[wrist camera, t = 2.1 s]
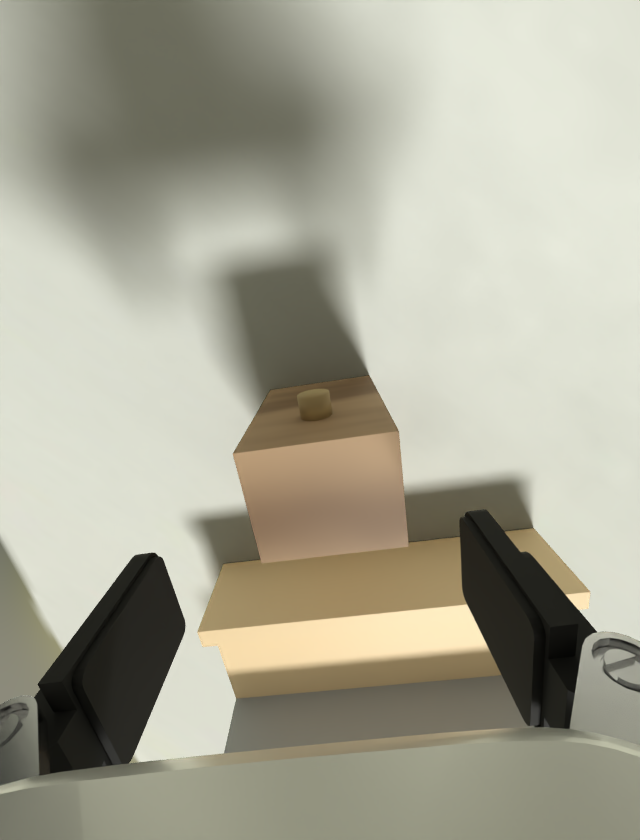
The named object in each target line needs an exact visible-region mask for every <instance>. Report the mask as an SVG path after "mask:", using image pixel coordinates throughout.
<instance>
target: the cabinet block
mask: <svg viewBox="0 0 640 840" xmlns="http://www.w3.org/2000/svg"><path fill="white" fill-rule="evenodd" d="M233 456H234V460H235V464H236V468H237V472H238V475H239V479H240V483H241V487H242V491H243V494H244V498H245V502H246V506H247V510H248V513H249V517H250V521H251V525H252V529H253V533H254V536H255V540H256V544H257V548H258V552H259V555H260V559H261V563H270V562H279V561H287V560H296V559H305V558H314V557H322V556H331V555H340V554H349V553H358V552H366V551H375V550H384V549H393V548H401V547H409V544H408V532H407V521H406V509H405V497H404V486H403V474H402V463H401V451H400V439H399V431H398V429H397V427H396V425H395V423H394V421H393V419H392V417H391V415H390V414H389V412H388V410H387V408H386V406H385V404H384V402H383V400H382V398H381V397H380V395H379V393H378V391H377V389H376V387H375V385H374V383H373V381H372V380H371V378H370V376H369V375H368V376H361V377H355V378H348V379H341V380H334V381H328V382H321V383H314V384H308V385H301V386H294V387H287V388H281V389H274V390H270V391H269V393H268V395H267V396H266V398H265V400H264V401H263V403H262V405H261V407H260V408H259V410H258V412H257V413H256V415H255V417H254V418H253V420H252V422H251V424H250V425H249V427H248V429H247V430H246V432H245V434H244V436H243V437H242V439H241V441H240V442H239V444H238V446H237V447H236V449H235V451H234V453H233Z"/></svg>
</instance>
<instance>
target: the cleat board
mask: <svg viewBox="0 0 640 840" xmlns="http://www.w3.org/2000/svg"><path fill="white" fill-rule="evenodd" d="M505 533H506V535H507V536H508V537H509V538H510V540H511V541H512V542H513V543H514V544H515V546H516V547H517V548H518V549H519V551H520V552H525V551H526V552H528V553H530V554H531V555H532V556H533V557H534V558H535V559H536V560H537V561H538V563H539V564H540V565H541V566H542V567H543V569H544V570H545V571H546V572H547V573H548V575H549V576H550V577H551V578H552V579H553V580H554V582H555V583H556V584H557V585H558V586H559V588H560V589H561V590H562V591H563V592H564V594H565V595H566V596H567V597H568V598H569V599H570V601H571V602H572V603H573V604H574V605H575V607H576V608H577V609H578V610H581V609H588V607H589V599H590V591H589V590H588V589H587V588H586V586H585V585H584V584H583V583H582V582H581V581H580V580H579V579H578V577H577V576H576V575H575V574H574V573H573V572H572V571H571V570H570V568H569V567H568V566H567V565H566V564H565V563H564V562H563V561H562V559H561V558H560V557H559V556H558V555H557V554H556V553H555V552H554V550H553V549H552V548H551V547H550V546H549V545H548V544H547V543H546V541H545V540H544V539H543V538H542V537H541V536H540V535H539V534H538V532H537V531H536V530H535V529H534V528H531V529H522V530H513V531H505ZM408 544H409V547H401V548H393V549H384V550H375V551H366V552H358V553H349V554H340V555H331V556H322V557H314V558H305V559H296V560H287V561H279V562H270V563H261V560H253V561H244V562H236V563H227V564H223V566H222V569H221V572H220V574H219V577H218V579H217V582H216V585H215V587H214V590H213V593H212V595H211V598H210V600H209V603H208V606H207V608H206V611H205V613H204V616H203V619H202V621H201V624H200V627H199V629H198V632H197V633H198V635H199V638H200V641H201V643H202V646H203V647H207V646H218V647H219V650H220V653H221V656H222V659H223V662H224V665H225V667H226V670H227V673H228V676H229V679H230V682H231V685H232V688H233V690H234V693H235V696H236V702H235V707H234V711H233V716H232V720H231V725H230V729H229V734H228V738H227V743H226V747H225V752H224V754H225V753H235V752H245V751H255V750H265V749H275V748H285V747H296V746H306V745H316V744H326V743H337V742H347V741H358V740H369V739H380V738H391V737H402V736H413V735H424V734H435V733H447V732H461V731H475V730H489V729H503V728H535V727H534V726H528V725H527V724H526V723H525V722H524V720H523V718H522V716H521V714H520V712H519V710H518V708H517V706H516V704H515V702H514V700H513V698H512V695H511V693H510V691H509V689H508V687H507V685H506V683H505V681H504V679H503V677H502V675H501V673H500V671H499V669H498V667H497V665H496V663H495V661H494V659H493V656H492V654H491V652H490V650H489V648H488V646H487V644H486V642H485V640H484V638H483V636H482V634H481V632H480V630H479V628H478V626H477V624H476V622H475V620H474V617H473V615H472V613H471V611H470V609H469V607H468V605H467V603H466V601H465V598H464V595H463V591H462V575H461V548H460V537H453V538H444V539H435V540H427V541H418V542H409V543H408Z"/></svg>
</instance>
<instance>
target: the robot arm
mask: <svg viewBox="0 0 640 840" xmlns="http://www.w3.org/2000/svg"><path fill="white" fill-rule="evenodd" d="M460 548H461V575H462V591H463V595H464V598H465V601H466V603H467V605H468V607H469V609H470V611H471V613H472V615H473V617H474V620H475V622H476V624H477V626H478V628H479V630H480V632H481V634H482V636H483V638H484V640H485V642H486V644H487V646H488V648H489V650H490V652H491V654H492V656H493V659H494V661H495V663H496V665H497V667H498V669H499V671H500V673H501V675H502V677H503V679H504V681H505V683H506V685H507V687H508V689H509V691H510V693H511V695H512V698H513V700H514V702H515V704H516V706H517V708H518V710H519V712H520V714H521V716H522V718H523V720H524V722H525V723H526V724H527V725H528V726H534V727H535V728H503V729H489V730H475V731H461V732H447V733H435V734H424V735H413V736H402V737H391V738H380V739H369V740H358V741H347V742H337V743H326V744H316V745H306V746H296V747H285V748H275V749H265V750H255V751H245V752H235V753H225V754H215V755H205V756H196V757H186V758H177V759H167V760H158V761H148V762H139V763H129V762H130V761H131V759H132V757H133V755H134V753H135V750H136V748H137V745H138V743H139V741H140V738H141V736H142V733H143V731H144V729H145V726H146V724H147V721H148V719H149V717H150V714H151V712H152V710H153V707H154V705H155V702H156V700H157V698H158V695H159V693H160V690H161V688H162V686H163V683H164V681H165V678H166V676H167V674H168V671H169V669H170V666H171V664H172V662H173V659H174V657H175V654H176V652H177V650H178V647H179V645H180V643H181V640H182V638H183V635H184V632H185V620H184V617H183V614H182V611H181V608H180V605H179V603H178V600H177V597H176V594H175V591H174V589H173V586H172V583H171V580H170V577H169V575H168V572H167V569H166V566H165V563H164V560H163V558H162V557H158V555H157V554H156V553H147V554H139V555H135V556H134V557H133V558H132V559H131V560H130V562H129V563H128V564H127V566H126V567H125V568H124V570H123V571H122V572H121V574H120V575H119V576H118V578H117V579H116V580H115V582H114V583H113V584H112V586H111V587H110V588H109V590H108V591H107V592H106V594H105V595H104V596H103V598H102V599H101V600H100V602H99V603H98V604H97V606H96V607H95V608H94V610H93V611H92V612H91V614H90V615H89V616H88V618H87V619H86V620H85V622H84V623H83V624H82V626H81V627H80V628H79V630H78V631H77V632H76V634H75V635H74V636H73V638H72V639H71V640H70V642H69V643H68V644H67V646H66V647H65V648H64V650H63V651H62V652H61V654H60V655H59V657H58V658H57V659H56V660H55V662H54V663H53V664H52V666H51V667H50V669H49V670H48V671H47V672H46V674H45V675H44V676H43V678H42V679H41V680H40V682H39V683H38V686H39V688H40V690H39V692H38V693H37V695H36V696H35V697H34V698H33V697H31V696H19V697H16V698H13V699H10V700H8V701H6V702H4V703H2V704H0V840H640V641H638V640H636V639H633V638H631V637H629V636H626V635H622V634H619V633H615V632H598V633H597V631H596V630H595V629H594V628H593V627H592V626H591V624H590V623H589V622H588V621H587V620H586V618H585V617H584V616H583V615H582V614H581V612H580V611H579V610H578V609H577V608H576V607H575V605H574V604H573V603H572V602H571V601H570V599H569V598H568V597H567V596H566V595H565V594H564V592H563V591H562V590H561V589H560V588H559V586H558V585H557V584H556V583H555V582H554V580H553V579H552V578H551V577H550V576H549V575H548V573H547V572H546V571H545V570H544V569H543V567H542V566H541V565H540V564H539V563H538V561H537V560H536V559H535V558H534V557H533V556H532V555H531V554H530V553H528V552H526V551H525V552H520V551H519V549H518V548H517V547H516V546H515V544H514V543H513V542H512V541H511V540H510V538H509V537H508V536H507V535H506V533H505V532H504V531H503V530H502V528H501V527H500V526H499V525H498V523H497V522H496V521H495V520H494V518H493V517H492V516H491V515H490V514H489V512H488V511H487V510H477V511H470V512H466V513H465V517H462V518H460Z"/></svg>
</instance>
